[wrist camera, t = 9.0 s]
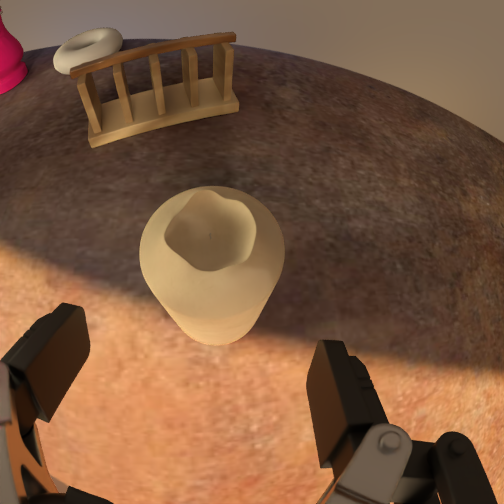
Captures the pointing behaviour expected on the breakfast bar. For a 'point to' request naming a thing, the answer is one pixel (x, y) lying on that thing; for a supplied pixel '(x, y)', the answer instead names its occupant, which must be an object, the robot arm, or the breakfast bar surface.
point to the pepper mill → (10, 60)
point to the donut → (87, 48)
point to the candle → (212, 261)
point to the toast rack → (158, 89)
